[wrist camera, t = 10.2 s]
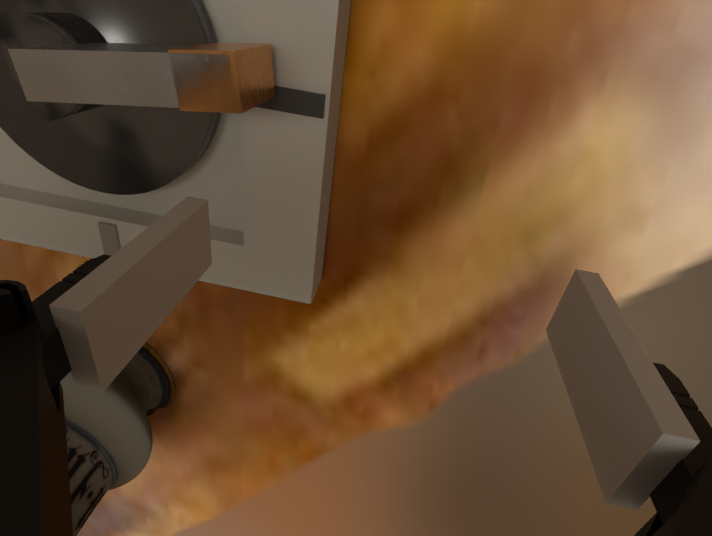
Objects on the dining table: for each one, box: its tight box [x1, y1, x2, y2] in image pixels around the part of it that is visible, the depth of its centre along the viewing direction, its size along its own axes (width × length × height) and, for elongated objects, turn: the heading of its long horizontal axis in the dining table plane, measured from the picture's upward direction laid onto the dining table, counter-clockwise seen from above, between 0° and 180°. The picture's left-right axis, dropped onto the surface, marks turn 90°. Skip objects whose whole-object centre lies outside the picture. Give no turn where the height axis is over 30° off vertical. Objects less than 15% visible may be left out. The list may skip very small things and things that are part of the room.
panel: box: [0, 0, 351, 304], centre depth 21 cm, size 22×24×3 cm
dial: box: [0, 0, 275, 195], centre depth 18 cm, size 16×13×6 cm
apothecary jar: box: [60, 343, 175, 536], centre depth 27 cm, size 12×12×18 cm
